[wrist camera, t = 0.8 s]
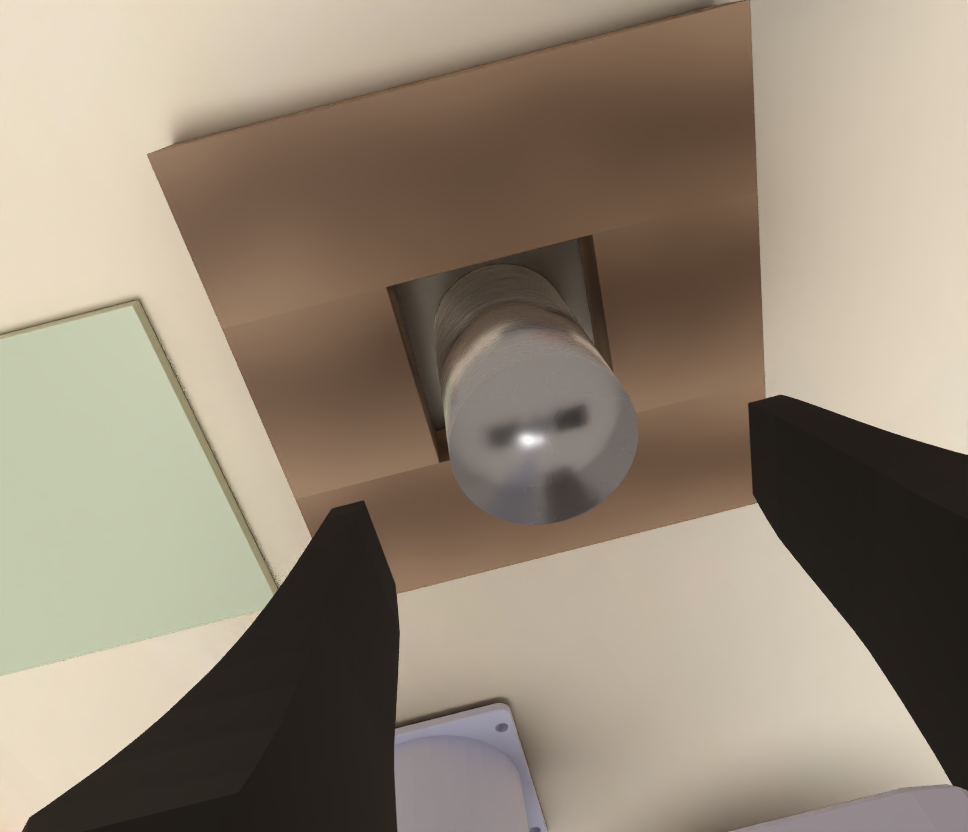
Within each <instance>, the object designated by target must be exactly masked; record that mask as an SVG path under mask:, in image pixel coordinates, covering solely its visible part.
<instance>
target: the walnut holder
mask: <svg viewBox="0 0 968 832" xmlns="http://www.w3.org/2000/svg"><path fill="white" fill-rule="evenodd" d="M147 156H148V158H149V161H150V163H151V165H152V167H153V170H154V172H155V174H156V177H157V179H158V181H159V184H160V186H161V188H162V191H163V193H164V195H165V198H166V200H167V202H168V205H169V207H170V209H171V212H172V214H173V216H174V219H175V221H176V223H177V225H178V228H179V230H180V232H181V235H182V237H183V239H184V242H185V244H186V246H187V249H188V251H189V253H190V256H191V258H192V260H193V263H194V265H195V267H196V270H197V272H198V274H199V277H200V279H201V281H202V284H203V286H204V288H205V290H206V293H207V295H208V297H209V300H210V302H211V304H212V307H213V309H214V311H215V314H216V316H217V318H218V321H219V323H220V325H221V328H222V330H223V332H224V335H225V337H226V339H227V342H228V344H229V346H230V348H231V351H232V353H233V355H234V358H235V360H236V362H237V365H238V367H239V369H240V372H241V374H242V376H243V379H244V381H245V383H246V386H247V388H248V390H249V393H250V395H251V397H252V400H253V402H254V404H255V407H256V409H257V411H258V413H259V416H260V418H261V420H262V423H263V425H264V427H265V430H266V432H267V434H268V437H269V439H270V441H271V444H272V446H273V448H274V451H275V453H276V455H277V458H278V460H279V462H280V465H281V467H282V469H283V472H284V474H285V476H286V478H287V481H288V483H289V485H290V488H291V490H292V492H293V495H294V497H295V499H296V502H297V504H298V506H299V509H300V511H301V513H302V516H303V518H304V520H305V523H306V525H307V527H308V530H309V532H310V534H311V536H312V538H313V537H314V535H315V533H316V532H317V530H318V529H319V527H320V526H321V524H322V523H323V521H324V519H325V518H326V516H327V515H328V513H329V512H330V510H331V509H332V508H335V507H339V506H343V505H347V504H351V503H355V502H359V501H363V500H364V501H365V504H366V507H367V509H368V512H369V515H370V517H371V520H372V523H373V525H374V528H375V531H376V533H377V536H378V539H379V541H380V544H381V547H382V549H383V552H384V555H385V557H386V560H387V563H388V565H389V568H390V571H391V573H392V576H393V579H394V581H395V584H396V594H398V593H402V592H406V591H410V590H414V589H418V588H422V587H426V586H430V585H434V584H438V583H442V582H446V581H450V580H454V579H458V578H462V577H466V576H470V575H474V574H478V573H482V572H485V571H489V570H493V569H497V568H501V567H505V566H509V565H513V564H517V563H521V562H525V561H529V560H533V559H537V558H541V557H545V556H549V555H553V554H557V553H561V552H565V551H569V550H573V549H577V548H581V547H584V546H588V545H592V544H596V543H600V542H604V541H608V540H612V539H616V538H620V537H624V536H628V535H632V534H636V533H640V532H644V531H648V530H652V529H656V528H660V527H664V526H668V525H672V524H676V523H680V522H683V521H687V520H691V519H695V518H699V517H703V516H707V515H711V514H715V513H719V512H723V511H727V510H731V509H735V508H739V507H743V506H747V505H751V504H755V503H758V502H757V501H756V499H755V497H754V496H753V490H752V470H751V451H750V432H749V412H748V403H750V402H754V401H758V400H762V399H765V374H764V348H763V323H762V297H761V272H760V246H759V220H758V195H757V169H756V144H755V118H754V92H753V67H752V41H751V16H750V0H744V1H738V2H732V3H726V4H720V5H714V6H710V7H706V8H702V9H698V10H694V11H690V12H687V13H683V14H679V15H675V16H671V17H667V18H663V19H659V20H655V21H652V22H648V23H644V24H640V25H636V26H632V27H628V28H624V29H620V30H617V31H613V32H609V33H605V34H601V35H597V36H593V37H589V38H585V39H582V40H578V41H574V42H570V43H566V44H562V45H558V46H554V47H550V48H547V49H543V50H539V51H535V52H531V53H527V54H523V55H519V56H515V57H511V58H508V59H504V60H500V61H496V62H492V63H488V64H484V65H480V66H476V67H473V68H469V69H465V70H461V71H457V72H453V73H449V74H445V75H441V76H438V77H434V78H430V79H426V80H422V81H418V82H414V83H410V84H406V85H403V86H399V87H395V88H391V89H387V90H383V91H379V92H375V93H371V94H368V95H364V96H360V97H356V98H352V99H348V100H344V101H340V102H336V103H333V104H329V105H325V106H321V107H317V108H313V109H309V110H305V111H301V112H298V113H294V114H290V115H286V116H282V117H278V118H274V119H270V120H266V121H262V122H259V123H255V124H251V125H247V126H243V127H239V128H235V129H231V130H227V131H224V132H220V133H216V134H212V135H208V136H204V137H200V138H196V139H192V140H189V141H185V142H181V143H177V144H173V145H170V146H168V147H165V148H162V149H160V150H157V151H155V152H152V153H149V154H147ZM576 238H578V241H579V248H580V254H581V260H582V266H583V272H584V278H585V285H586V291H587V297H588V303H589V309H590V315H591V322H592V328H593V334H594V340H595V346H596V349H597V350H598V352H599V353H600V355H601V356H602V358H603V359H604V360H605V362H606V363H607V365H608V366H609V368H610V369H611V371H612V372H613V374H614V375H615V376H616V378H617V379H618V381H619V382H620V384H621V385H622V387H623V388H624V390H625V391H626V393H627V394H628V396H629V398H630V400H631V401H632V404H633V406H634V409H635V411H636V416H637V420H638V431H639V434H638V445H637V449H636V454H635V457H634V459H633V462H632V465H631V467H630V469H629V470H628V472H627V474H626V476H625V477H624V479H623V480H622V482H621V483H620V484H619V485H618V487H617V488H616V489H615V490H614V491H613V492H612V493H611V494H610V495H609V496H608V497H607V498H606V499H604V500H603V501H602V502H601V503H599V504H598V505H596V506H595V507H594V508H592V509H590V510H588V511H586V512H585V513H583V514H580V515H578V516H576V517H573V518H571V519H567V520H564V521H561V522H556V523H551V524H541V525H527V524H519V523H513V522H509V521H505V520H502V519H500V518H497V517H495V516H492V515H491V514H489V513H487V512H485V511H483V510H482V509H481V508H479V507H478V506H477V505H475V504H474V503H473V502H472V501H471V500H470V499H469V498H468V497H467V496H466V494H465V493H464V492H463V491H462V489H461V488H460V486H459V484H458V482H457V481H456V479H455V476H454V473H453V471H452V467H451V462H450V456H449V449H448V441H447V434H446V428H444V429H440V430H436V429H435V426H434V422H433V419H432V416H431V412H430V409H429V406H428V402H427V399H426V396H425V392H424V389H423V386H422V382H421V379H420V375H419V372H418V369H417V365H416V362H415V359H414V355H413V352H412V349H411V345H410V342H409V339H408V335H407V332H406V328H405V325H404V322H403V318H402V315H401V312H400V308H399V305H398V302H397V298H396V295H395V292H394V288H393V285H396V284H400V283H404V282H408V281H412V280H416V279H419V278H423V277H427V276H431V275H435V274H439V273H443V272H447V271H451V270H455V269H459V268H463V267H466V266H470V265H474V264H478V263H482V262H486V261H490V260H494V259H498V258H502V257H506V256H510V255H513V254H517V253H521V252H525V251H529V250H533V249H537V248H541V247H545V246H549V245H553V244H557V243H561V242H564V241H568V240H572V239H576Z"/></svg>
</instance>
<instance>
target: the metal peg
mask: <svg viewBox="0 0 968 832" xmlns="http://www.w3.org/2000/svg"><path fill="white" fill-rule="evenodd" d="M433 331H434V343H435V350H436V358H437V365H438V373H439V381H440V388H441V396H442V403H443V411H444V419H445V426H446V434H447V441H448V449H449V456H450V462H451V467H452V471H453V473H454V476H455V479H456V481H457V482H458V484H459V486H460V488H461V489H462V491H463V492H464V493H465V494H466V496H467V497H468V498H469V499H470V500H471V501H472V502H473V503H474V504H475V505H477V506H478V507H479V508H481V509H482V510H483V511H485V512H487V513H489V514H491V515H492V516H495V517H497V518H500V519H502V520H505V521H509V522H513V523H519V524H527V525H541V524H551V523H556V522H561V521H564V520H567V519H571V518H573V517H576V516H578V515H580V514H583V513H585V512H586V511H588V510H590V509H592V508H594V507H595V506H596V505H598V504H599V503H601V502H602V501H603V500H604V499H606V498H607V497H608V496H609V495H610V494H611V493H612V492H613V491H614V490H615V489H616V488H617V487H618V485H619V484H620V483H621V482H622V480H623V479H624V477H625V476H626V474H627V472H628V470H629V469H630V467H631V465H632V462H633V459H634V457H635V454H636V449H637V445H638V434H639V431H638V420H637V416H636V411H635V409H634V406H633V404H632V401H631V400H630V398H629V396H628V394H627V393H626V391H625V390H624V388H623V387H622V385H621V384H620V382H619V381H618V379H617V378H616V376H615V375H614V374H613V372H612V371H611V369H610V368H609V366H608V365H607V363H606V362H605V360H604V359H603V358H602V356H601V355H600V353H599V352H598V350H597V349H596V347H595V346H594V344H593V343H592V341H591V340H590V339H589V337H588V336H587V334H586V333H585V331H584V330H583V328H582V327H581V325H580V324H579V323H578V321H577V320H576V318H575V317H574V315H573V314H572V312H571V311H570V309H569V308H568V306H567V305H566V304H565V302H564V301H563V299H562V298H561V296H560V295H559V293H558V292H557V291H556V289H555V288H554V287H553V285H552V284H551V283H550V282H549V281H548V280H546V279H545V278H544V277H543V276H541V275H540V274H538V273H537V272H535V271H533V270H531V269H528V268H525V267H522V266H518V265H513V264H495V265H489V266H485V267H482V268H479V269H476V270H474V271H472V272H470V273H468V274H467V275H465V276H463V277H462V278H461V279H459V280H458V281H457V282H456V283H455V284H454V285H453V286H452V287H451V288H450V289H449V290H448V291H447V293H446V294H445V296H444V297H443V299H442V301H441V303H440V304H439V307H438V309H437V312H436V316H435V320H434V330H433Z"/></svg>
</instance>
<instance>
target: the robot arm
mask: <svg viewBox="0 0 968 832" xmlns="http://www.w3.org/2000/svg"><path fill="white" fill-rule="evenodd" d="M748 412H749V432H750V451H751V470H752V490H753V496H754V497H755V499H756V501H757V502H758V504H759V506H760V508H761V509H762V511H763V513H764V515H765V516H766V518H767V520H768V521H769V523H770V525H771V526H772V528H773V529H774V531H775V533H776V534H777V536H778V537H779V539H780V540H781V541H782V543H783V544H784V545H785V546H786V548H787V549H788V550H789V551H790V553H791V554H792V555H793V556H794V558H795V559H796V560H797V561H798V563H799V564H800V565H801V566H802V568H803V569H804V570H805V571H806V573H807V574H808V575H809V576H810V577H811V579H812V580H813V581H814V582H815V584H816V585H817V586H818V587H819V588H820V590H821V591H822V592H823V593H824V595H825V596H826V597H827V598H828V599H829V601H830V602H831V603H832V604H833V606H834V607H835V608H836V609H837V610H838V612H839V613H840V614H841V615H842V617H843V618H844V619H845V620H846V621H847V623H848V624H849V625H850V626H851V628H852V629H853V630H854V631H855V633H856V634H857V635H858V637H859V638H860V639H861V641H862V642H863V643H864V645H865V646H866V647H867V649H868V650H869V652H870V653H871V655H872V656H873V658H874V659H875V661H876V662H877V664H878V665H879V667H880V668H881V670H882V671H883V673H884V674H885V676H886V678H887V679H888V681H889V682H890V684H891V685H892V687H893V688H894V690H895V691H896V693H897V694H898V696H899V697H900V699H901V701H902V702H903V704H904V705H905V707H906V709H907V710H908V712H909V713H910V715H911V717H912V718H913V720H914V722H915V723H916V725H917V726H918V728H919V730H920V731H921V733H922V735H923V736H924V738H925V739H926V741H927V743H928V744H929V746H930V747H931V749H932V751H933V752H934V754H935V756H936V757H937V759H938V761H939V763H940V764H941V766H942V768H943V769H944V771H945V773H946V775H947V776H948V778H949V780H950V781H951V783H952V785H953V786H951V785H947V784H945V785H933V786H921V787H908V788H901V789H897V790H893V791H889V792H885V793H881V794H877V795H873V796H869V797H865V798H861V799H857V800H853V801H849V802H845V803H841V804H836V805H832V806H828V807H824V808H820V809H816V810H812V811H808V812H804V813H800V814H796V815H792V816H788V817H784V818H780V819H776V820H772V821H768V822H764V823H760V824H756V825H752V826H748V827H744V828H740V829H736V830H732V831H728V832H968V455H965V454H962V453H958V452H954V451H950V450H947V449H943V448H940V447H937V446H933V445H930V444H926V443H923V442H920V441H916V440H913V439H910V438H907V437H903V436H900V435H897V434H894V433H891V432H888V431H885V430H882V429H879V428H876V427H874V426H871V425H868V424H865V423H862V422H859V421H857V420H854V419H851V418H848V417H845V416H843V415H840V414H837V413H834V412H832V411H829V410H826V409H823V408H821V407H818V406H815V405H812V404H809V403H806V402H804V401H801V400H798V399H794V398H791V397H787V396H784V395H778V396H774V397H770V398H766V399H762V400H758V401H754V402H750V403H748ZM399 637H400V630H399V617H398V605H397V594H396V584H395V581H394V579H393V576H392V573H391V571H390V568H389V565H388V563H387V560H386V557H385V555H384V552H383V549H382V547H381V544H380V541H379V539H378V536H377V533H376V531H375V528H374V525H373V523H372V520H371V517H370V515H369V512H368V509H367V507H366V504H365V501H364V500H363V501H359V502H355V503H351V504H347V505H343V506H339V507H335V508H332V509H331V510H330V512H329V513H328V515H327V516H326V518H325V519H324V521H323V523H322V524H321V526H320V527H319V529H318V530H317V532H316V533H315V535H314V537H313V538H312V540H311V541H310V543H309V544H308V546H307V547H306V549H305V551H304V552H303V554H302V555H301V557H300V558H299V560H298V561H297V563H296V564H295V566H294V567H293V569H292V570H291V572H290V573H289V575H288V576H287V578H286V579H285V581H284V582H283V583H282V585H281V586H280V588H279V589H278V590H277V592H276V593H275V594H274V596H273V597H272V598H271V600H270V601H269V602H268V604H267V605H266V606H265V608H264V609H263V610H262V612H261V613H260V614H259V616H258V617H257V618H256V620H255V621H254V622H253V623H252V625H251V626H250V627H249V628H248V629H247V631H246V632H245V633H244V634H243V635H242V637H241V638H240V639H239V640H238V641H237V642H236V643H235V645H234V646H233V647H232V648H231V649H230V650H229V651H228V652H227V653H226V655H225V656H224V657H223V658H222V659H221V660H220V661H219V662H218V663H217V664H216V665H215V666H214V667H213V669H212V670H211V671H210V672H209V673H208V674H207V675H206V676H205V677H203V678H202V679H201V680H200V681H199V682H198V683H197V684H196V685H195V686H194V687H193V688H192V689H191V690H190V691H189V692H188V693H187V694H186V695H185V696H184V697H183V698H182V699H181V700H179V701H178V702H177V703H176V704H175V705H174V706H173V707H172V708H171V709H170V710H169V711H168V712H167V713H166V714H165V715H163V716H162V717H161V718H160V719H159V720H158V721H157V722H155V723H154V724H153V725H152V726H151V727H150V728H148V729H147V730H146V731H145V732H144V733H143V734H141V735H140V736H139V737H138V738H137V739H135V740H134V741H133V742H132V743H130V744H129V745H128V746H127V747H125V748H124V749H123V750H122V751H120V752H119V753H118V754H117V755H115V756H114V757H113V758H112V759H110V760H109V761H108V762H106V763H105V764H104V765H103V766H101V767H100V768H99V769H97V770H96V771H95V772H93V773H92V774H90V775H89V776H88V777H86V778H85V779H83V780H82V781H81V782H79V783H78V784H76V785H75V786H74V787H72V788H71V789H69V790H68V791H67V792H65V793H64V794H62V795H61V796H60V797H58V798H57V799H55V800H54V801H53V802H51V803H50V804H49V805H47V806H46V807H44V808H43V809H41V810H40V811H38V812H37V813H35V814H34V815H32V816H31V817H29V819H28V821H27V823H26V825H25V827H24V829H23V831H22V832H548V830H547V827H546V824H545V820H544V817H543V814H542V811H541V807H540V804H539V801H538V798H537V794H536V791H535V788H534V784H533V781H532V778H531V775H530V771H529V768H528V765H527V762H526V758H525V755H524V752H523V749H522V745H521V742H520V739H519V736H518V732H517V729H516V726H515V722H514V719H513V716H512V713H511V709H510V708H509V706H508V705H506V704H503V703H495V704H491V705H487V706H483V707H479V708H475V709H471V710H467V711H463V712H459V713H455V714H451V715H448V716H444V717H440V718H436V719H432V720H428V721H424V722H420V723H416V724H412V725H408V726H404V727H400V728H396V729H395V721H396V702H397V682H398V661H399ZM500 723H502V724H500Z"/></svg>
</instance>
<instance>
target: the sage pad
mask: <svg viewBox="0 0 968 832" xmlns="http://www.w3.org/2000/svg"><path fill="white" fill-rule="evenodd" d="M277 590H278V589H277V586H276V584H275V582H274V580H273V578H272V576H271V574H270V572H269V570H268V568H267V566H266V564H265V561H264V559H263V557H262V555H261V553H260V551H259V549H258V547H257V545H256V543H255V541H254V539H253V537H252V534H251V532H250V530H249V528H248V526H247V524H246V522H245V520H244V518H243V516H242V514H241V512H240V510H239V507H238V505H237V503H236V501H235V499H234V497H233V495H232V493H231V491H230V489H229V487H228V485H227V483H226V480H225V478H224V476H223V474H222V472H221V470H220V468H219V466H218V464H217V462H216V460H215V458H214V456H213V453H212V451H211V449H210V447H209V445H208V443H207V441H206V439H205V437H204V435H203V433H202V431H201V428H200V426H199V424H198V422H197V420H196V418H195V416H194V414H193V412H192V410H191V408H190V406H189V404H188V401H187V399H186V397H185V395H184V393H183V391H182V389H181V387H180V385H179V383H178V381H177V379H176V377H175V374H174V372H173V370H172V368H171V366H170V364H169V362H168V360H167V358H166V356H165V354H164V352H163V350H162V347H161V345H160V343H159V341H158V339H157V337H156V335H155V333H154V331H153V329H152V327H151V325H150V323H149V320H148V318H147V316H146V314H145V312H144V310H143V308H142V306H141V304H140V302H139V300H136V301H132V302H128V303H124V304H120V305H116V306H112V307H108V308H104V309H100V310H97V311H93V312H89V313H85V314H81V315H77V316H73V317H69V318H65V319H61V320H57V321H54V322H50V323H46V324H42V325H38V326H34V327H30V328H26V329H22V330H18V331H14V332H11V333H7V334H3V335H0V676H3V675H7V674H11V673H15V672H19V671H23V670H27V669H31V668H35V667H39V666H43V665H47V664H51V663H54V662H58V661H62V660H66V659H70V658H74V657H78V656H82V655H86V654H90V653H94V652H98V651H102V650H106V649H110V648H114V647H118V646H122V645H126V644H130V643H134V642H138V641H142V640H145V639H149V638H153V637H157V636H161V635H165V634H169V633H173V632H177V631H181V630H185V629H189V628H193V627H197V626H201V625H205V624H209V623H213V622H217V621H221V620H225V619H229V618H233V617H236V616H240V615H244V614H248V613H252V612H256V611H260V610H263V609H264V608H265V606H266V605H267V604H268V602H269V601H270V600H271V598H272V597H273V596H274V594H275V593H276V592H277Z"/></svg>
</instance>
